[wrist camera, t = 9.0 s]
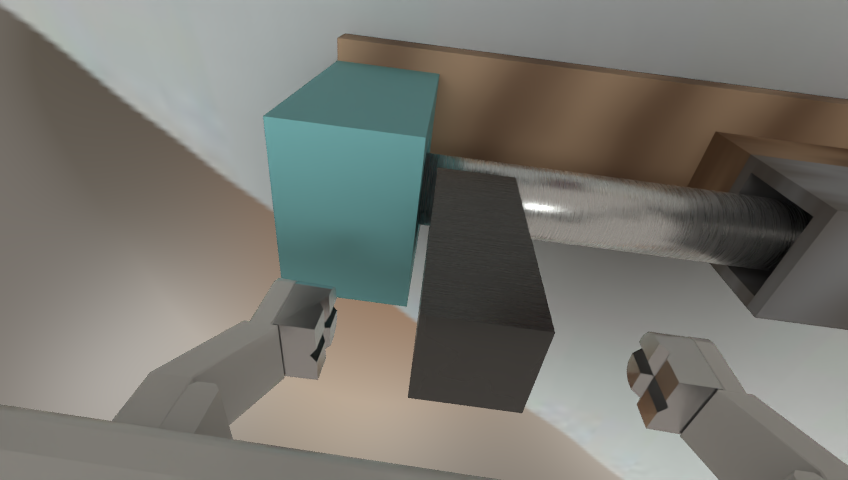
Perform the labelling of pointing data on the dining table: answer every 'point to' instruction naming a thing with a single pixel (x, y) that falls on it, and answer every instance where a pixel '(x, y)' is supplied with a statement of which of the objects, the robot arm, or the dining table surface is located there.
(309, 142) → the socket block
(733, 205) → the grey l-shaped piece
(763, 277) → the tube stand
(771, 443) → the robot arm
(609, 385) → the dining table surface
